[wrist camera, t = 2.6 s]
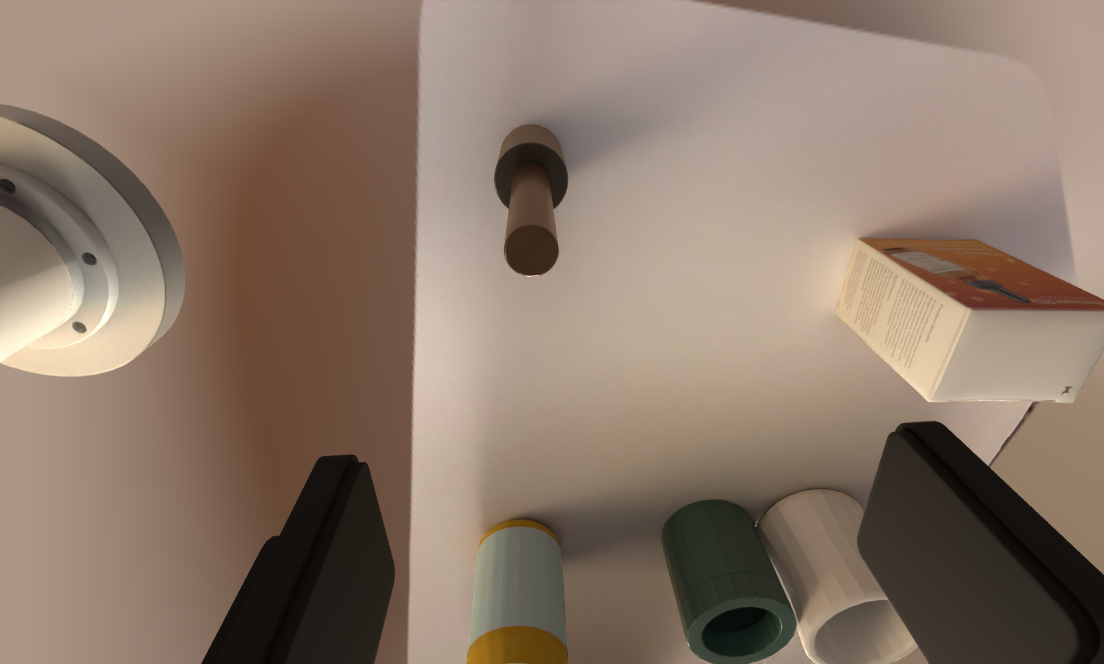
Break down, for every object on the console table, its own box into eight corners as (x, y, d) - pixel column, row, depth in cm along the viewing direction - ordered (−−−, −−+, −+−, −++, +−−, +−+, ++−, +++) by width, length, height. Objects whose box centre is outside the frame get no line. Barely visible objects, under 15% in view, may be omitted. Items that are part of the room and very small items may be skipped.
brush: (502, 189, 33) (482, 304, 19) (497, 126, 31) (470, 200, 17) (563, 186, 33) (587, 299, 19) (560, 122, 31) (585, 194, 17)
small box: (976, 237, 36) (1134, 309, 26) (944, 316, 38) (1078, 406, 29) (855, 235, 35) (971, 306, 26) (831, 314, 38) (929, 405, 29)
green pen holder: (658, 566, 49) (683, 668, 41) (663, 502, 46) (691, 600, 38) (746, 561, 49) (787, 662, 41) (757, 496, 46) (805, 593, 38)
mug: (736, 553, 49) (782, 668, 40) (777, 476, 45) (838, 585, 36) (863, 569, 50) (933, 683, 42) (914, 497, 46) (1004, 605, 37)
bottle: (564, 567, 49) (576, 764, 36) (485, 575, 49) (469, 774, 36) (556, 510, 46) (567, 704, 32) (472, 519, 46) (448, 715, 33)
